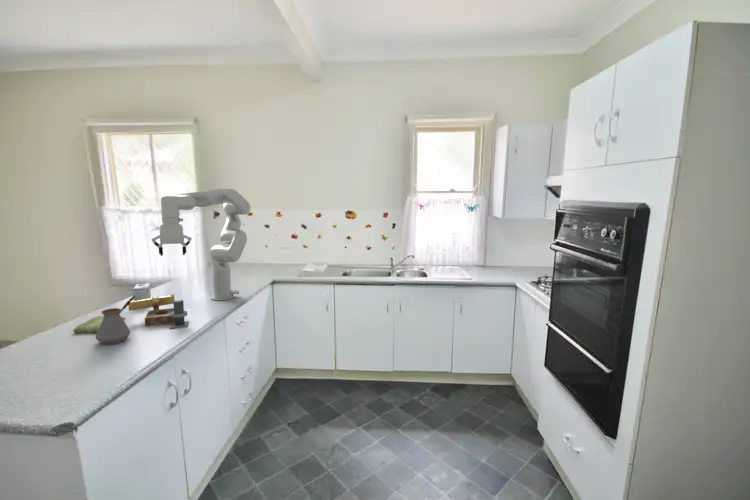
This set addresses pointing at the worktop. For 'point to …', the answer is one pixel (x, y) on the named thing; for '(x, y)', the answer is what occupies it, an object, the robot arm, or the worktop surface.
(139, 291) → the light bulb box
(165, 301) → the clip
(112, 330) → the coffee pot
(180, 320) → the plug
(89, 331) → the washcloth
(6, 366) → the worktop surface
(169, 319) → the socket block
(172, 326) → the pad
